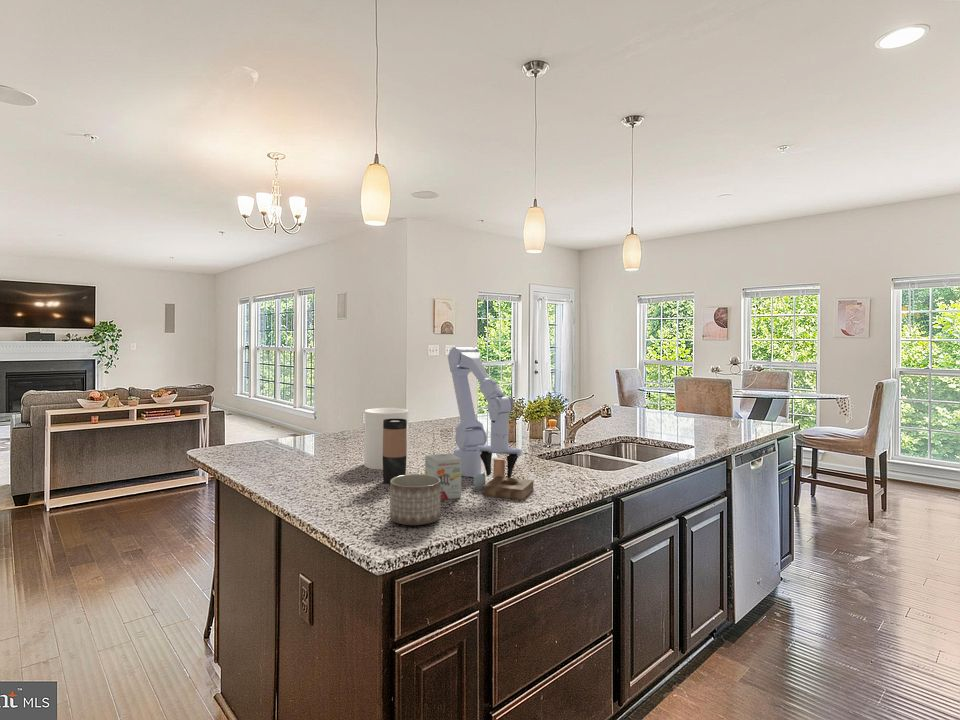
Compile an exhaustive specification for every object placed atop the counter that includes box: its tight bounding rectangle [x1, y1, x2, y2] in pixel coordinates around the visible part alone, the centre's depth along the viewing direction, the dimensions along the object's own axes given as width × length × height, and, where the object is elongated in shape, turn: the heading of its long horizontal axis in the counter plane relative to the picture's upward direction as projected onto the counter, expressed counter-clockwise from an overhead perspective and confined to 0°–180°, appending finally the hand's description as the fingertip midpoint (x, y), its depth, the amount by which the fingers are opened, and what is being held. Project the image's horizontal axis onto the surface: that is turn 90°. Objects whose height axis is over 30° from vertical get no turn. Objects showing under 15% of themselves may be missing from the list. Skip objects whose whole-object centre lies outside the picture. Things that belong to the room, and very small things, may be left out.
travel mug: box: [382, 419, 407, 485], centre depth 174 cm, size 8×8×20 cm
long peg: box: [492, 457, 506, 479], centre depth 173 cm, size 4×4×8 cm
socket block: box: [483, 476, 534, 501], centre depth 163 cm, size 12×12×3 cm
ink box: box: [424, 452, 462, 501], centre depth 159 cm, size 9×9×12 cm
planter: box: [389, 473, 441, 526], centre depth 136 cm, size 13×13×10 cm
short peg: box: [473, 474, 486, 491], centre depth 167 cm, size 4×4×4 cm
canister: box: [363, 407, 410, 471], centre depth 198 cm, size 16×16×20 cm
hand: (499, 476), depth 173 cm, fingers open, 6 cm apart
